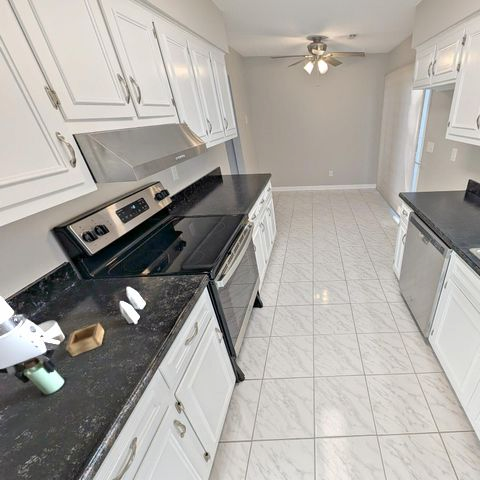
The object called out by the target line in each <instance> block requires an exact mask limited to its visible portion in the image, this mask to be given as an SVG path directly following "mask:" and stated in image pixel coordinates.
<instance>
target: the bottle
mask: <svg viewBox="0 0 480 480" xmlns="http://www.w3.org/2000/svg"><path fill="white" fill-rule="evenodd" d="M21 365H23V366H24V367H25V368H26V369H25V370H24V372H23V373H24V375H25V376H26V377H27V378H28V379H29V382H31V383H32V384H33V386H35V387H36V388H37V389H38V390H39V391H40V392H41V393H42V394H43V395H51V394H53V393H55V392H56V391H59V390H60V389H61V387H63V385H64V384H65V379H64V378H63V377H62V376H61V374H60V373H59V372H58V371H57V370H56V369H55V370H54V372H52V373H50V372H49V371H48V370H47V369H46V368H45V367H44V366H43V361H42V360H40V359H38V358H36V357H33V358H31V359H28V360H25V361H23V362H22V364H21Z"/></svg>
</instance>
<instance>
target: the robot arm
mask: <svg viewBox="0 0 480 480" xmlns="http://www.w3.org/2000/svg"><path fill="white" fill-rule="evenodd" d="M37 325H38V324H35V323H34V322H32V321H31V320H29V319H28V318H27V315H26V313H19V314H18V313H17V311H14V309H13V308H12V307H11V306H10V305H9V304H8V303H7V302H6V300H5V299H4V298H3V297H2V296H1V295H0V374H8V376H15V377H16V379H18V380H19V381H20V382H22V383H23V384H27V383H29V382H30V380H29V379H28V378H27V377H26V376H25V375H24V373H23V372H24V370H25V369H26V368H25V367H24V366H23V365H22V364H20V363H23V362H24V361H25V360H28V359H31V358H33V357H36V358H38V359H39V360H42V361H43V366H44V367H45V368H46V369H47V370H48V371H49V372H50V373H52V372H54V370H56V367H57V366H58V361H57V360H56V358H54V356H53V355H54V353H55V352H56V351H57V350H58V348H59V347H60V346H61V343H62V342H61V341H57V340H52V339H50V338H49V337H48V336H47V335H46V334H45V333H44V332H43V331H42V330H41V329H40V328H39V327H38V326H37ZM46 346H50V348H49V349H46V348H45V347H46Z"/></svg>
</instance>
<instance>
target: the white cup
mask: <svg viewBox="0 0 480 480" xmlns="http://www.w3.org/2000/svg"><path fill="white" fill-rule="evenodd" d="M36 325H37V326H38V327H39V328H40V329H41V330H42V331H43V332H44V333H45V334H46V335H47V336H48V337H49V338H50V339H52V340H57V341H61V343H63V342H64V341H65V339H66V337H65V334H64V333H63V331H62V329H61V327H60V326H59V324H58V322H57V321H56V320H46V321H44V322H41V323H40V324H36ZM45 348H46V349H48V350H49V348H50V346H46V347H45Z"/></svg>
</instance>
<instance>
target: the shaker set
mask: <svg viewBox="0 0 480 480" xmlns="http://www.w3.org/2000/svg"><path fill="white" fill-rule="evenodd" d="M125 291H126V297H127V298H128V300H129V302H130V303H131V304H132V305H131V304H129V303H127V302H125V301H124V300H120V301H119V303H118V304H119V310H120V313H121V314H122V316H123V317H124V319H125V320H126V321H127V323H128V324H134V325H136V324H138V320H139V319H140V318H141V317H140V314H138V313H137V311H136V310H143V309H144V307H145V306H146V301H145V300H144V299H143V297H142V296H141V295H140V293H139V292H138V291H137V290H135V289H134V288H132V287H131V286H126V288H125Z"/></svg>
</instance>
